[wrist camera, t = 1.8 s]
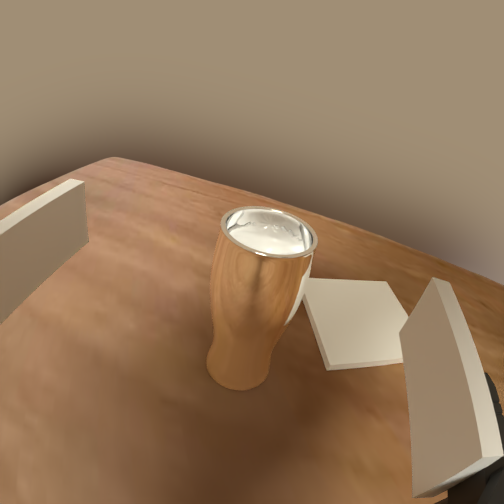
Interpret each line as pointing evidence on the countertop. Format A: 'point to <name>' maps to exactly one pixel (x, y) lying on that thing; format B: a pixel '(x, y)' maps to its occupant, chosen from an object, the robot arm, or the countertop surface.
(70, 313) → the countertop surface
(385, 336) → the mat
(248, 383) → the beer glass
